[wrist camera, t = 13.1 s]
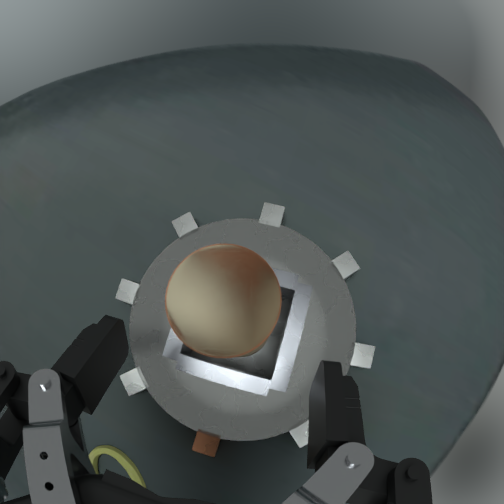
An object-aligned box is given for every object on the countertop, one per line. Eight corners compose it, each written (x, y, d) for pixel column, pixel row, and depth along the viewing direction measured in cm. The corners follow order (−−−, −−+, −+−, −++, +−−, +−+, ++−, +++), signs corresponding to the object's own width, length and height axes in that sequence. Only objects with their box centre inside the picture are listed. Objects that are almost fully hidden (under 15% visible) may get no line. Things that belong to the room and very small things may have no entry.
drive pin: (201, 347, 19) (150, 335, 10) (220, 290, 21) (187, 231, 11) (260, 365, 19) (262, 372, 9) (277, 307, 20) (294, 260, 11)
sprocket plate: (95, 401, 19) (67, 406, 15) (167, 190, 25) (154, 163, 21) (331, 473, 17) (344, 493, 13) (384, 242, 23) (403, 221, 19)
